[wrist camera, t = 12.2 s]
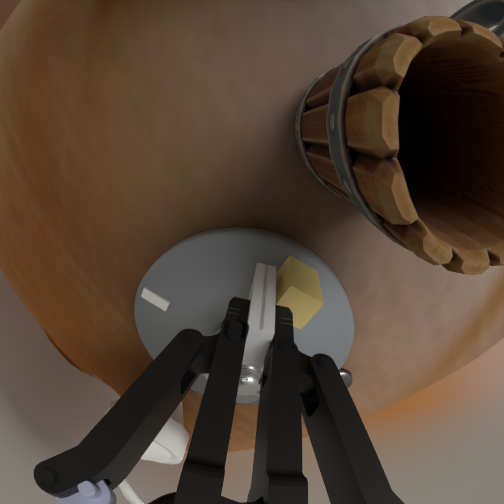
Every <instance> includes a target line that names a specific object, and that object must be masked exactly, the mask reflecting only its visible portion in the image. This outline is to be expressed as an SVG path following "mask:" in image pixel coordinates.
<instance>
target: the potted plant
mask: <svg viewBox="0 0 504 504" xmlns="http://www.w3.org/2000/svg"><path fill="white" fill-rule="evenodd" d="M117 401H118V400H117ZM117 401H113V402H111V405H110V406H109V408H108V410H107V412H108V411H109V410H110V409H111V408H112V407H113V406H114V404H115V403H116V402H117ZM107 412H106V413H107ZM105 415H106V414H105ZM188 440H189V434H188V433H187V431H186V430H185V428H184V423H183V408H182V401H181V402H180V404H179V405H178V407H177V408H176V410H175V411H174V412H173V414H172V415H171V417H170V418H169V419H168V421H167V422H166V424H165V425H164V427H163V428H162V429H161V431H160V432H159V434H158V435H157V436H156V438H155V439H154V440H153V442H152V443H151V445H150V446H149V447H148V449H147V450H146V452H145V453H144V454H143V456H142V457H141V458H140V459H143V460H152V461H155V462H159V463H164V464H179V463H180V462H181V460H183V457H184V453H185V450H186V446H187V443H188ZM118 486H119V488H120V490H121V492H122V493H123V495H124V497H125V498H126V499H127V500H128V501H129V502H130V503H132V504H145V503H143V502H142V501H141V500H140V499H139V497H138V496H137V495H136V493H135V492H134V491H133V489H132V488H131V486H130V485H129V484H128V482H127V480H126V479H124V480H123V482H122V483H121V484H119V485H118Z"/></svg>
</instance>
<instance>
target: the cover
mask: <svg viewBox="0 0 504 504" xmlns="http://www.w3.org/2000/svg"><path fill="white" fill-rule="evenodd" d="M221 325H222V322H221V323H219V324H218V325H216V326H215V327H214V328H213V330H212V331H211V333H210V335H209V336H213V335H216V334H218V333H219V332H220V331H221ZM263 366H264V364H263ZM263 366H262V368H258V367H253V366H248V365H243V364H242V368H241V374H240V380H239V386H238V392H237V398H236V402H238V403H249V402H253V401H255V400H257V399H258V398H259V396H260V384H261V383H260V384H258V383H259V380H260V377H261V375H262V372H263ZM203 375H204V376H205V378H206V379H208V376H209V374H203Z"/></svg>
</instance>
